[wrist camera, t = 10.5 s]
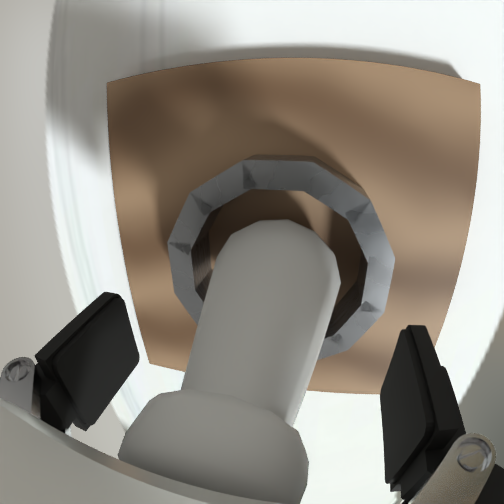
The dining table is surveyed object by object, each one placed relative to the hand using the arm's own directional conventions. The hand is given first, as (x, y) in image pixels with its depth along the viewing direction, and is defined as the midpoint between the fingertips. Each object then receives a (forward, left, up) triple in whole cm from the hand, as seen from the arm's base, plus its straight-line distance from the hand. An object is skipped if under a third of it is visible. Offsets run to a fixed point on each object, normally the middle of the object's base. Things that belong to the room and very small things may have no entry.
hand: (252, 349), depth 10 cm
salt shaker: (0, 0, -7) cm, 8 cm away
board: (0, 0, -9) cm, 9 cm away
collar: (0, 0, -7) cm, 7 cm away
